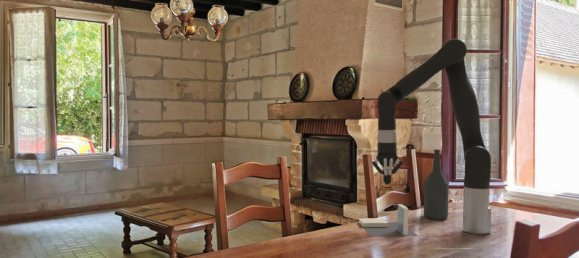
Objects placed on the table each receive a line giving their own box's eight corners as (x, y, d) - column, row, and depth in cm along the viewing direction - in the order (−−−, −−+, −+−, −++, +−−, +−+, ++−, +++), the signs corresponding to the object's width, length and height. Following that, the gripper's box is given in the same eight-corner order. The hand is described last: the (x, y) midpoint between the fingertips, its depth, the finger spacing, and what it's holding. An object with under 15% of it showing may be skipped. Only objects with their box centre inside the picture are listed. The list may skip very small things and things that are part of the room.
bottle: (419, 217, 204) (420, 149, 203) (431, 214, 211) (432, 148, 210) (440, 221, 197) (442, 150, 196) (452, 218, 203) (453, 149, 202)
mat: (401, 223, 193) (401, 222, 193) (418, 237, 171) (418, 236, 171) (358, 223, 192) (358, 222, 192) (370, 237, 170) (370, 236, 170)
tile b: (401, 229, 180) (402, 204, 180) (407, 235, 172) (408, 208, 172) (397, 229, 180) (397, 204, 180) (403, 235, 172) (403, 208, 172)
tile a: (383, 218, 192) (359, 218, 191) (388, 222, 184) (363, 222, 183) (383, 222, 192) (359, 222, 191) (388, 227, 184) (363, 227, 183)
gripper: (400, 140, 191) (400, 182, 191) (368, 141, 190) (368, 183, 191) (405, 141, 183) (406, 185, 184) (372, 142, 183) (373, 186, 183)
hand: (387, 184), depth 187 cm, fingers closed
